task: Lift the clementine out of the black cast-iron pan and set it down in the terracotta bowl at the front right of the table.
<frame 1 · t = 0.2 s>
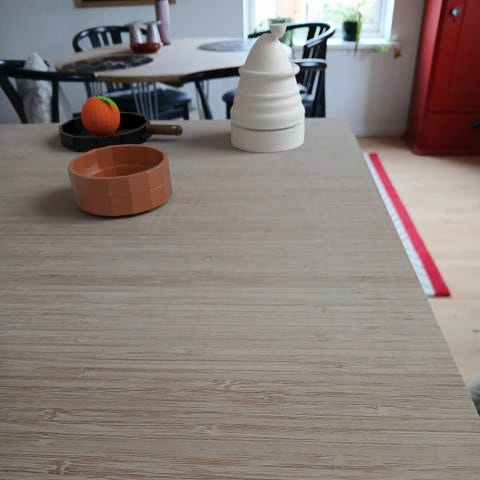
honey pot: (267, 141, 91), on the table
bowl: (125, 198, 72), on the table
clementine: (106, 137, 95), resting on pan
pan: (107, 137, 95), on the table
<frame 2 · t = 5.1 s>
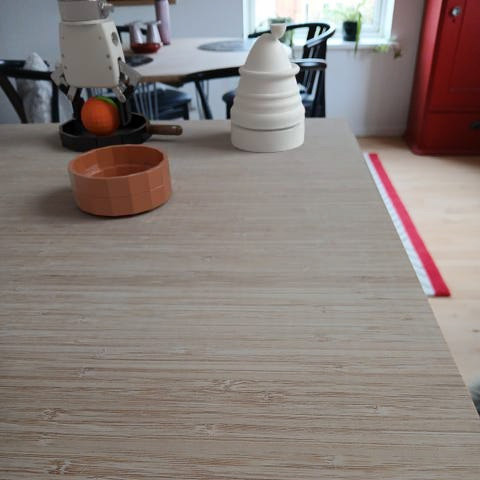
hand: (104, 122, 94), 3 cm above the table, tool pointing down, fingers closed on clementine, 8 cm apart
clementine: (106, 137, 95), resting on pan, touching gripper
everything else where it was.
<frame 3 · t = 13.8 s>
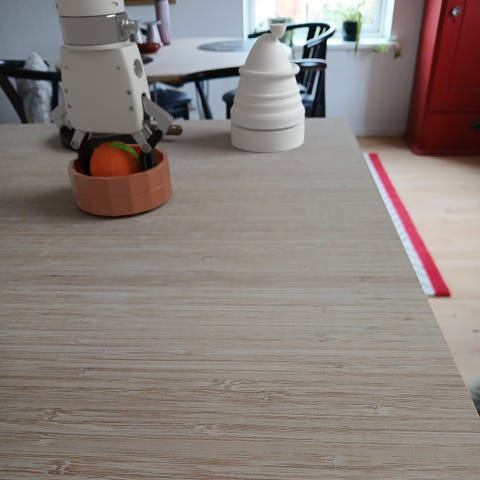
hand: (120, 176, 70), 3 cm above the table, tool pointing down, fingers closed on clementine, 8 cm apart
clementine: (123, 194, 72), point 1 cm above the table, touching gripper
everything else where it was.
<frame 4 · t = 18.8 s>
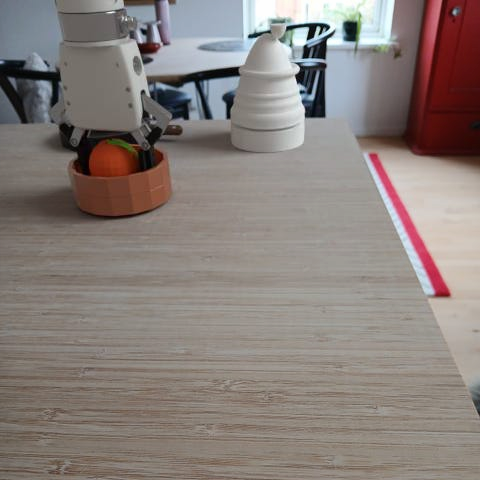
hand: (119, 173, 70), 4 cm above the table, tool pointing down, fingers closed on clementine, 8 cm apart
clementine: (122, 191, 72), point 1 cm above the table, touching gripper
everything else where it was.
when the fingers open (4 cm above the table, at t = 23.7 s): clementine stays where it is, resting on bowl.
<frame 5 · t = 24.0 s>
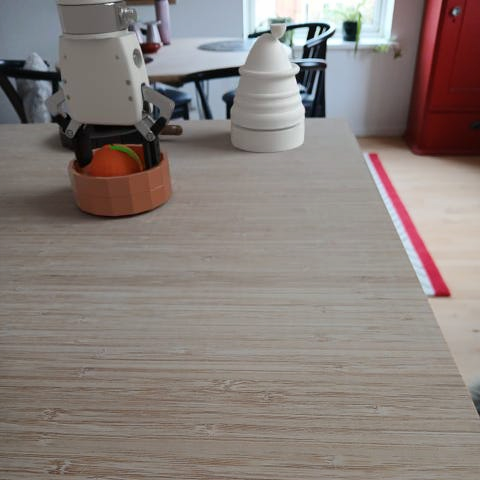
hand: (119, 166, 69), 5 cm above the table, tool pointing down, fingers open, 9 cm apart
clementine: (124, 196, 72), resting on bowl
everything else where it was.
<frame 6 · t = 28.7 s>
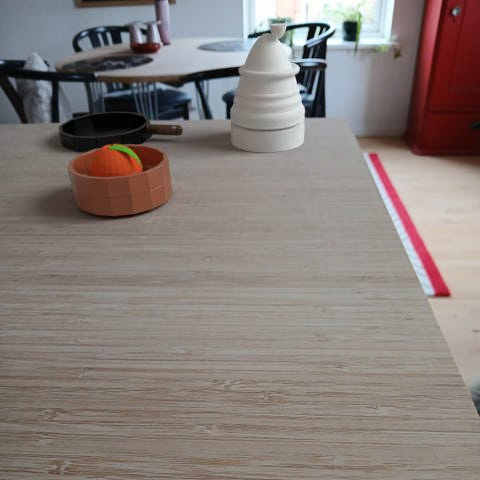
nothing on the table moved.
at the end: clementine inside the target area in the bowl (0.1 cm from its centre), point 0.3 cm above the bowl's base; the gripper is holding nothing; clementine moved 29.9 cm from its start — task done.
